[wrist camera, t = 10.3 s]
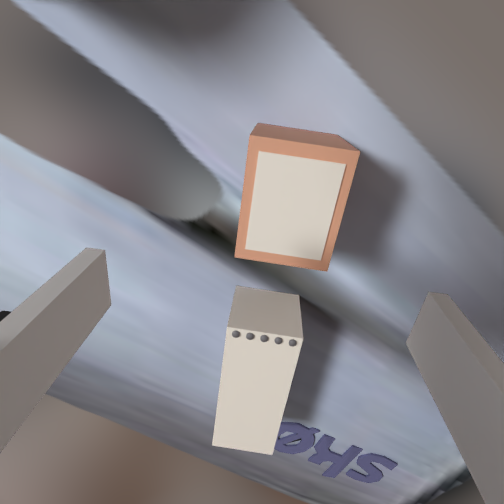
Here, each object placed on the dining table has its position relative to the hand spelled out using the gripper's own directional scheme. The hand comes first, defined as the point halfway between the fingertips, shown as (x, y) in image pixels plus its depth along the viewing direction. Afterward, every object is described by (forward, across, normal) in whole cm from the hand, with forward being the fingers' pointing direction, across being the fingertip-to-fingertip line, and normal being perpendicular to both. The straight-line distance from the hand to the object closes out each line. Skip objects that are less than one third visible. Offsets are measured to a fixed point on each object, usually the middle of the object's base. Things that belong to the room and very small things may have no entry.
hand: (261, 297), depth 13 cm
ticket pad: (+23, +1, -25) cm, 34 cm away
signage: (+23, +13, -45) cm, 52 cm away
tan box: (+23, +2, -1) cm, 23 cm away
